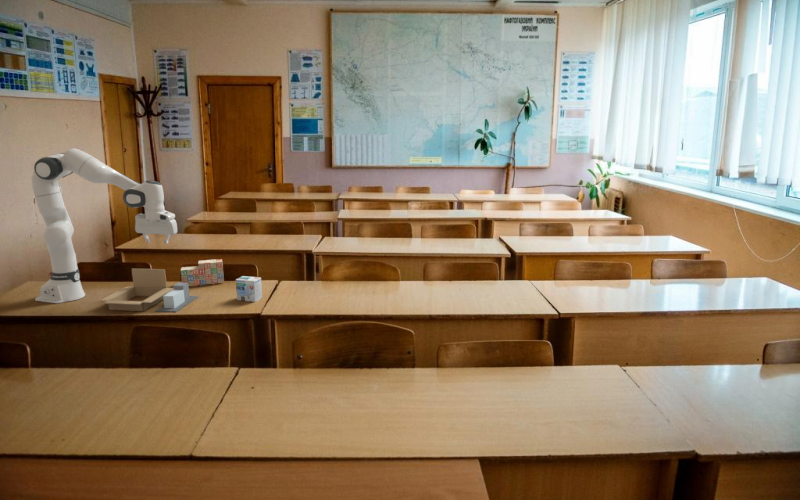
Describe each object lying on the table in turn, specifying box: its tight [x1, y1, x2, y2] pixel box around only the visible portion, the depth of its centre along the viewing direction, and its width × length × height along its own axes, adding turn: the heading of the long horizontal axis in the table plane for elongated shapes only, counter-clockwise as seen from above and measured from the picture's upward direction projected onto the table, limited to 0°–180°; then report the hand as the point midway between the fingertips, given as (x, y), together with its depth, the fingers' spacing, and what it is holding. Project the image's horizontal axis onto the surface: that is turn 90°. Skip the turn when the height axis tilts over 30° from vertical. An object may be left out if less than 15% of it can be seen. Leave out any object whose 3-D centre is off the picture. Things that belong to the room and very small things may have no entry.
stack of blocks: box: [180, 258, 225, 287], centre depth 318 cm, size 21×6×12 cm, turn 105°
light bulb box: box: [235, 275, 263, 303], centre depth 291 cm, size 11×7×11 cm, turn 73°
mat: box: [155, 295, 199, 313], centre depth 286 cm, size 10×22×1 cm, turn 172°
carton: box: [99, 268, 174, 312], centre depth 286 cm, size 26×25×14 cm
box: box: [162, 282, 191, 308], centre depth 285 cm, size 5×15×8 cm, turn 172°
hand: (157, 242), depth 288 cm, fingers open, 8 cm apart
